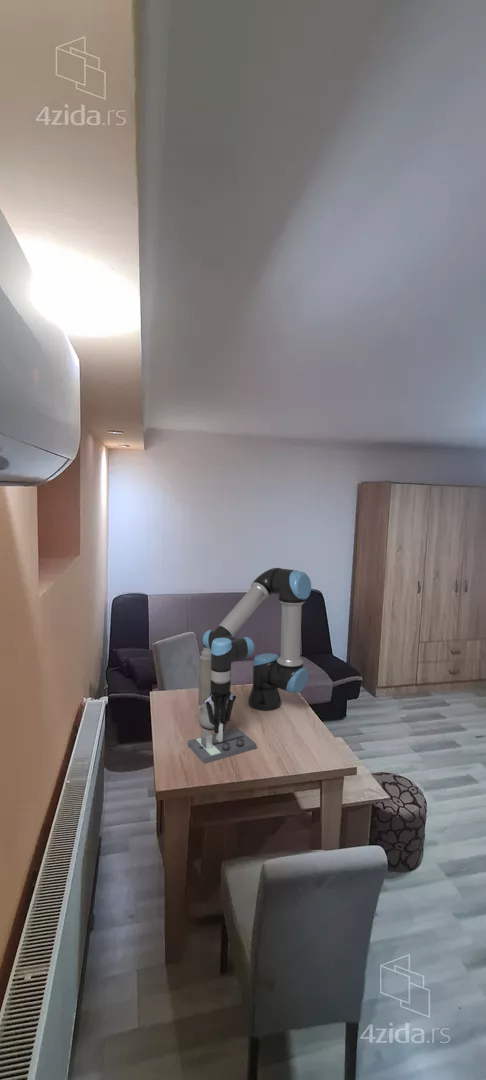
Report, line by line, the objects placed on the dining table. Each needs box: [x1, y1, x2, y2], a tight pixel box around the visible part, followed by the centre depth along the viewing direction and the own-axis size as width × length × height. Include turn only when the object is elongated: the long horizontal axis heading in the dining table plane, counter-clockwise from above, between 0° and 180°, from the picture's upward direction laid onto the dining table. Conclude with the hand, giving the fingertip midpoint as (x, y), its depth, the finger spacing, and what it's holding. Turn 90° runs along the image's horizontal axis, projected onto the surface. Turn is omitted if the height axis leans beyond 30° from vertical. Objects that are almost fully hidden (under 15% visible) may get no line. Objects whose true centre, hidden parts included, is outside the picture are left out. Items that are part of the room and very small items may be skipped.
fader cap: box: [200, 729, 213, 749], centre depth 173 cm, size 2×4×5 cm, turn 31°
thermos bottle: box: [198, 643, 212, 707], centre depth 213 cm, size 8×8×28 cm
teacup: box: [198, 701, 214, 731], centre depth 194 cm, size 14×11×8 cm
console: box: [187, 727, 257, 765], centre depth 176 cm, size 22×14×4 cm, turn 121°
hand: (219, 740), depth 176 cm, fingers closed
